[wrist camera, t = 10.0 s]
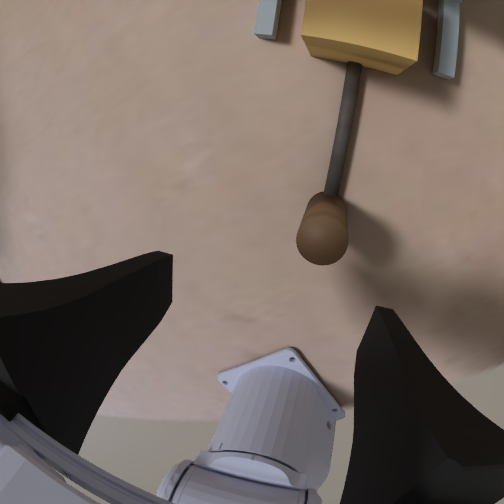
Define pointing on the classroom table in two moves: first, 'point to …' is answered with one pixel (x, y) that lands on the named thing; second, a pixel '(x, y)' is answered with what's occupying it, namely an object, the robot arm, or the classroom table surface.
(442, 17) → the shelf
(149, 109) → the classroom table surface
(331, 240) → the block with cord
